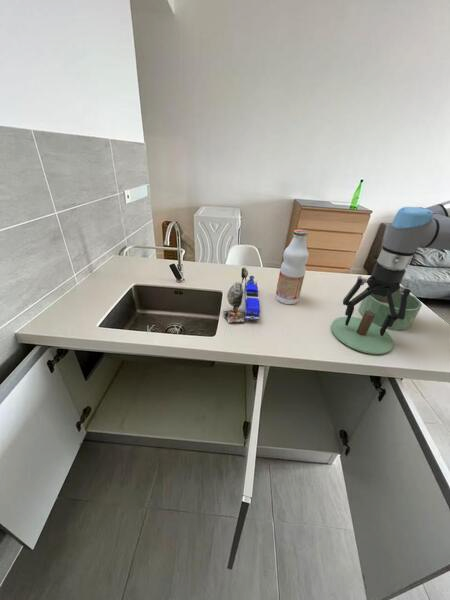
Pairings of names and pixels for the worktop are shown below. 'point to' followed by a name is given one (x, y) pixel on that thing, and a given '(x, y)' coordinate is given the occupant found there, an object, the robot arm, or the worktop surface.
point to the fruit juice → (293, 269)
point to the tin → (383, 310)
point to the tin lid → (362, 334)
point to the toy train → (251, 300)
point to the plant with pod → (236, 300)
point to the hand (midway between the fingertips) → (363, 328)
